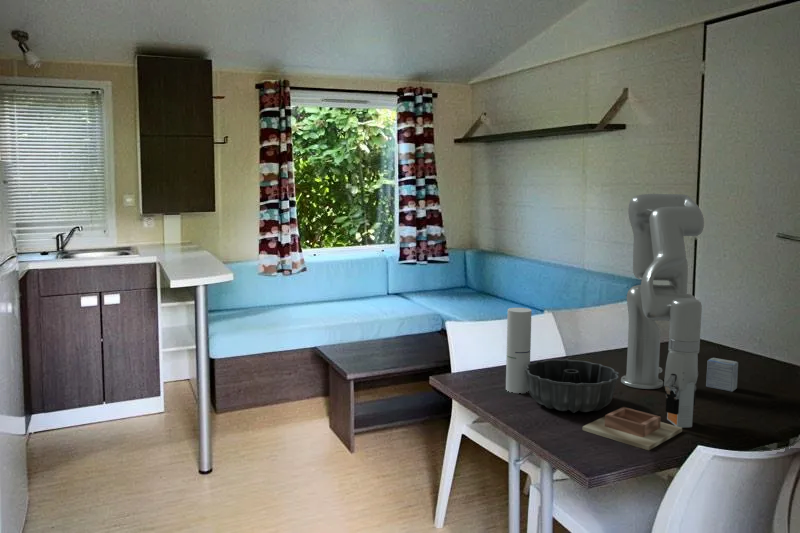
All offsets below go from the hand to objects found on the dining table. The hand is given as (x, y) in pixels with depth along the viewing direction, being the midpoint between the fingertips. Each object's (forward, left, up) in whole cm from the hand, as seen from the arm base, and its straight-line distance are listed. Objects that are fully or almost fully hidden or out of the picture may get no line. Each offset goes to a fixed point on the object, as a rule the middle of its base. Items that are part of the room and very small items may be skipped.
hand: (680, 408), depth 180 cm
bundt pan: (+7, -29, -5) cm, 30 cm away
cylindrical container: (+8, -47, -4) cm, 48 cm away
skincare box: (0, 0, -4) cm, 4 cm away
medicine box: (-40, -5, -4) cm, 41 cm away
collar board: (+14, -6, -4) cm, 16 cm away
